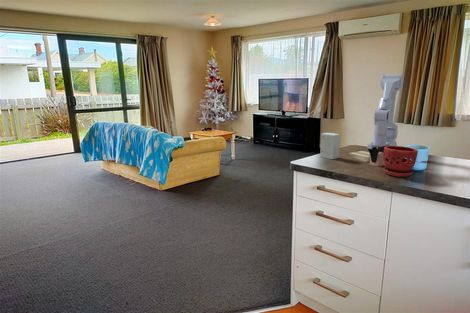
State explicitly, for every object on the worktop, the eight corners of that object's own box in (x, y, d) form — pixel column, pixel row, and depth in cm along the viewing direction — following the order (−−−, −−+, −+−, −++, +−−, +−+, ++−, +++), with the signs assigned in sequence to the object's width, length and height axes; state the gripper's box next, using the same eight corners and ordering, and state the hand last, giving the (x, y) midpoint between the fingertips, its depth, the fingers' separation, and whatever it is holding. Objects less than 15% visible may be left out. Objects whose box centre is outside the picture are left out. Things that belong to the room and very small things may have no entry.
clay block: (375, 162, 157) (377, 151, 155) (384, 165, 153) (386, 153, 151) (369, 164, 154) (370, 152, 153) (378, 166, 150) (379, 154, 149)
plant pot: (414, 180, 129) (418, 152, 126) (380, 175, 136) (383, 149, 133) (414, 172, 140) (417, 146, 138) (382, 168, 147) (385, 143, 144)
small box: (339, 157, 168) (341, 134, 165) (332, 159, 164) (334, 135, 161) (326, 155, 174) (328, 132, 171) (319, 156, 170) (321, 133, 167)
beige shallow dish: (362, 156, 173) (362, 150, 173) (379, 160, 164) (379, 154, 163) (348, 158, 168) (348, 153, 168) (365, 162, 159) (365, 157, 158)
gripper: (382, 132, 157) (379, 158, 160) (363, 134, 150) (360, 161, 153) (395, 134, 151) (392, 161, 154) (375, 136, 144) (372, 164, 147)
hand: (377, 161), depth 153 cm, fingers closed on clay block, 5 cm apart
